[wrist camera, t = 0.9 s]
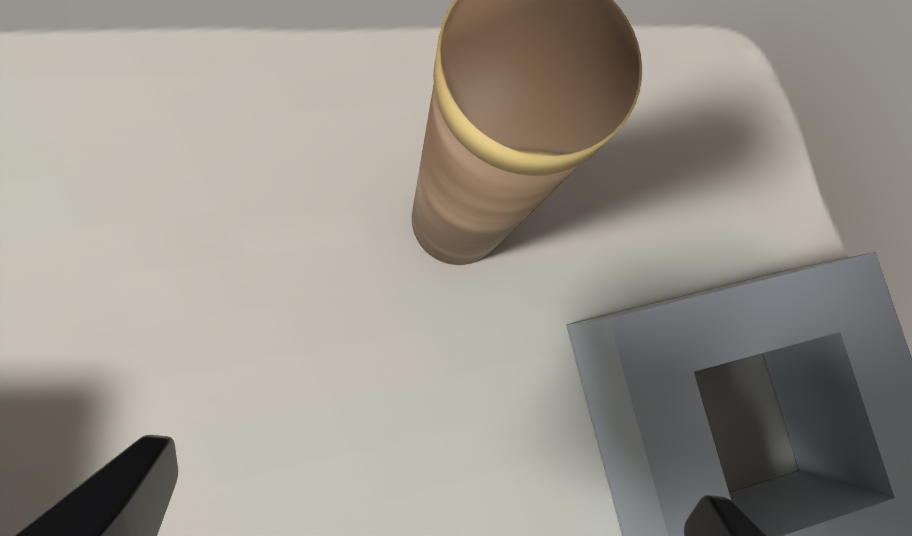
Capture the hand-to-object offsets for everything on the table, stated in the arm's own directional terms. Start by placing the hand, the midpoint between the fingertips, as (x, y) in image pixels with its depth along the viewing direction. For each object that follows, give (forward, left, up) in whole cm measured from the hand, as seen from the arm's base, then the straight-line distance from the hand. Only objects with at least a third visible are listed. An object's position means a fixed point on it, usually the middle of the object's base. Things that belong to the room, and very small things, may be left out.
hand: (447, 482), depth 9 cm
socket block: (-4, -13, -13) cm, 19 cm away
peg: (+7, -4, -13) cm, 15 cm away
